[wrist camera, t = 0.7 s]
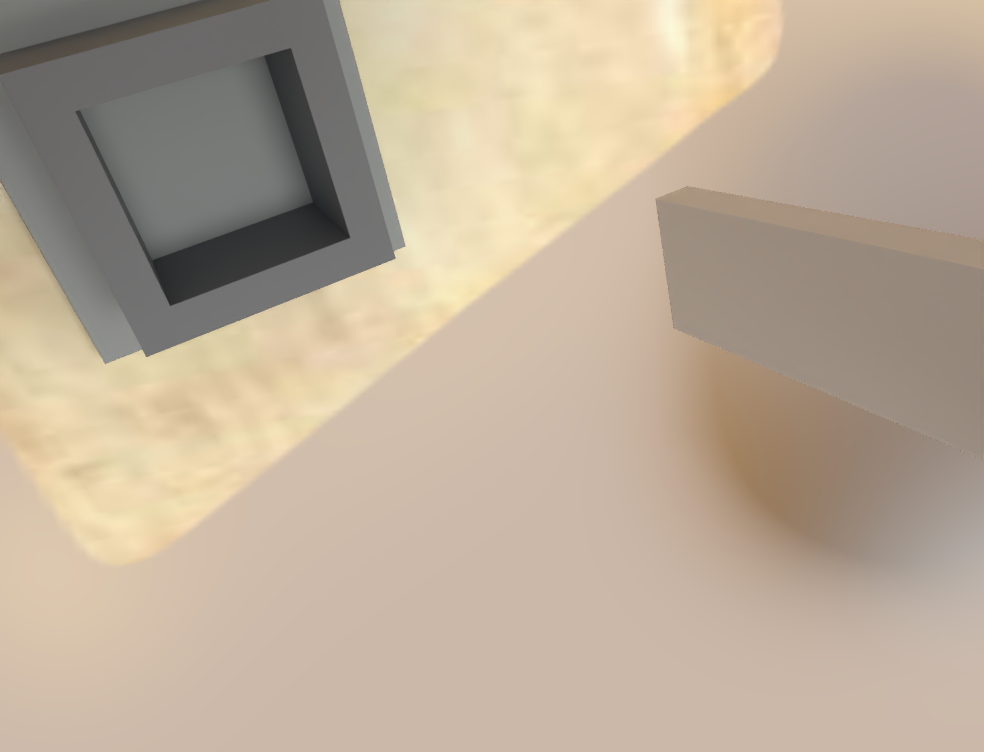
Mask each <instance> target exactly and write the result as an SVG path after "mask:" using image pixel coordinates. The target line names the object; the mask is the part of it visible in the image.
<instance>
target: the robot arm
mask: <svg viewBox="0 0 984 752" xmlns="http://www.w3.org/2000/svg"><path fill="white" fill-rule="evenodd" d="M656 205H657V213H658V220H659V227H660V234H661V242H662V248H663V256H664V263H665V270H666V278H667V284H668V292H669V299H670V306H671V313H672V320H673V328H675V329H677V330H679V331H682V332H684V333H686V334H689V335H691V336H693V337H696V338H698V339H700V340H703V341H705V342H708V343H710V344H712V345H715V346H717V347H719V348H722V349H724V350H726V351H729V352H731V353H733V354H736V355H738V356H740V357H743V358H745V359H747V360H750V361H752V362H754V363H757V364H759V365H762V366H764V367H766V368H769V369H771V370H773V371H775V372H778V373H780V374H782V375H785V376H787V377H790V378H792V379H794V380H796V381H799V382H801V383H804V384H806V385H808V386H811V387H813V388H815V389H818V390H820V391H822V392H825V393H827V394H830V395H832V396H834V397H836V398H839V399H841V400H844V401H846V402H849V403H850V404H853V405H855V406H857V407H860V408H862V409H865V410H867V411H869V412H872V413H874V414H876V415H879V416H881V417H883V418H886V419H888V420H890V421H893V422H895V423H897V424H900V425H902V426H904V427H907V428H909V429H912V430H914V431H916V432H919V433H921V434H923V435H926V436H928V437H930V438H933V439H935V440H937V441H940V442H942V443H944V444H947V445H949V446H951V447H954V448H956V449H958V450H961V451H963V452H966V453H968V454H970V455H973V456H975V457H977V458H980V459H982V460H984V240H981V239H976V238H971V237H965V236H960V235H954V234H949V233H943V232H937V231H931V230H926V229H921V228H915V227H910V226H904V225H899V224H893V223H888V222H882V221H877V220H871V219H866V218H860V217H855V216H849V215H843V214H838V213H832V212H827V211H821V210H816V209H810V208H805V207H799V206H794V205H788V204H782V203H777V202H772V201H765V200H760V199H755V198H749V197H743V196H738V195H733V194H727V193H722V192H716V191H711V190H705V189H700V188H694V187H688V186H687V187H684V188H682V189H680V190H677V191H674V192H672V193H670V194H667V195H665V196H662V197H659V198H657V199H656Z"/></svg>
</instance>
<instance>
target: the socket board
mask: <svg viewBox="0 0 984 752" xmlns="http://www.w3.org/2000/svg"><path fill="white" fill-rule="evenodd" d="M0 181H1V183H2V185H3V186H4V188H5V190H6V192H7V193H8V195H9V197H10V199H11V200H12V202H13V204H14V206H15V207H16V209H17V211H18V213H19V214H20V216H21V218H22V220H23V221H24V223H25V225H26V227H27V228H28V230H29V232H30V234H31V235H32V237H33V239H34V241H35V242H36V244H37V246H38V248H39V249H40V251H41V253H42V255H43V256H44V258H45V260H46V262H47V263H48V265H49V267H50V268H51V270H52V272H53V274H54V275H55V277H56V279H57V281H58V282H59V284H60V286H61V288H62V289H63V291H64V293H65V295H66V296H67V298H68V300H69V302H70V303H71V305H72V307H73V309H74V310H75V312H76V314H77V316H78V317H79V319H80V321H81V323H82V324H83V326H84V328H85V330H86V331H87V333H88V335H89V337H90V338H91V340H92V342H93V344H94V345H95V347H96V349H97V351H98V352H99V354H100V356H101V358H102V359H103V361H104V363H105V364H106V363H109V362H111V361H114V360H116V359H119V358H121V357H124V356H127V355H129V354H132V353H134V352H137V351H139V350H143V351H144V353H145V355H146V357H148V356H150V355H153V354H155V353H158V352H160V351H163V350H165V349H168V348H170V347H173V346H176V345H178V344H181V343H183V342H186V341H188V340H191V339H193V338H196V337H198V336H201V335H203V334H206V333H208V332H211V331H213V330H216V329H219V328H221V327H224V326H226V325H229V324H231V323H234V322H236V321H239V320H241V319H244V318H246V317H249V316H251V315H254V314H257V313H259V312H262V311H264V310H267V309H269V308H272V307H274V306H277V305H279V304H282V303H284V302H287V301H289V300H292V299H294V298H297V297H300V296H302V295H305V294H307V293H310V292H312V291H315V290H317V289H320V288H322V287H325V286H327V285H330V284H332V283H335V282H338V281H340V280H343V279H345V278H348V277H350V276H353V275H355V274H358V273H360V272H363V271H365V270H368V269H370V268H373V267H375V266H378V265H381V264H383V263H386V262H388V261H391V260H393V259H396V258H395V255H394V251H395V250H397V249H400V248H402V247H405V242H404V239H403V235H402V231H401V228H400V224H399V220H398V217H397V213H396V209H395V205H394V202H393V198H392V194H391V191H390V187H389V183H388V180H387V176H386V172H385V168H384V165H383V161H382V157H381V154H380V150H379V146H378V143H377V139H376V135H375V131H374V128H373V124H372V120H371V117H370V113H369V109H368V106H367V102H366V98H365V94H364V91H363V87H362V83H361V80H360V76H359V72H358V68H357V65H356V61H355V57H354V54H353V50H352V46H351V43H350V39H349V35H348V31H347V28H346V24H345V20H344V17H343V13H342V9H341V6H340V2H339V0H0Z"/></svg>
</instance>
